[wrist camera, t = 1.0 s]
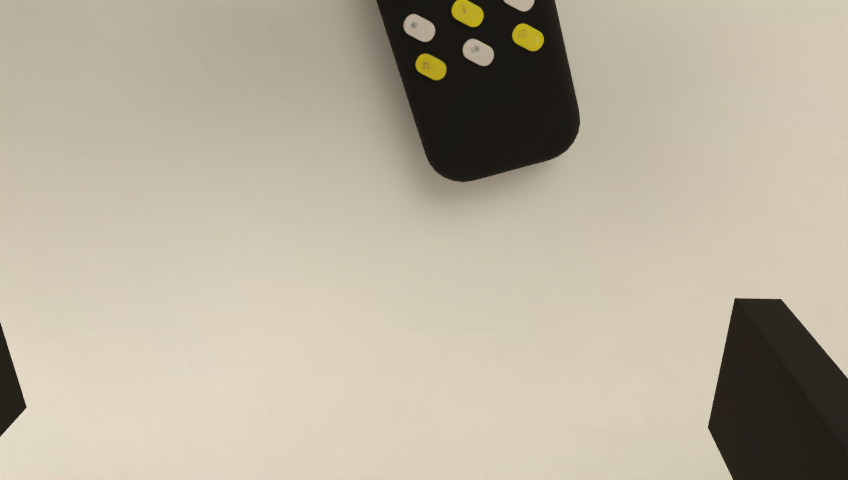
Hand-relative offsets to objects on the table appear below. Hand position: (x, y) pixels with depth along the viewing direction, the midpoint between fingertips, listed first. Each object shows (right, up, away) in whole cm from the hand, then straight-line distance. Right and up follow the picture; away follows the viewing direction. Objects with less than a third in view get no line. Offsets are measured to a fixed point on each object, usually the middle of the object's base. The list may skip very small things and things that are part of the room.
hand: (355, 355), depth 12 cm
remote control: (+3, +11, +14) cm, 18 cm away
